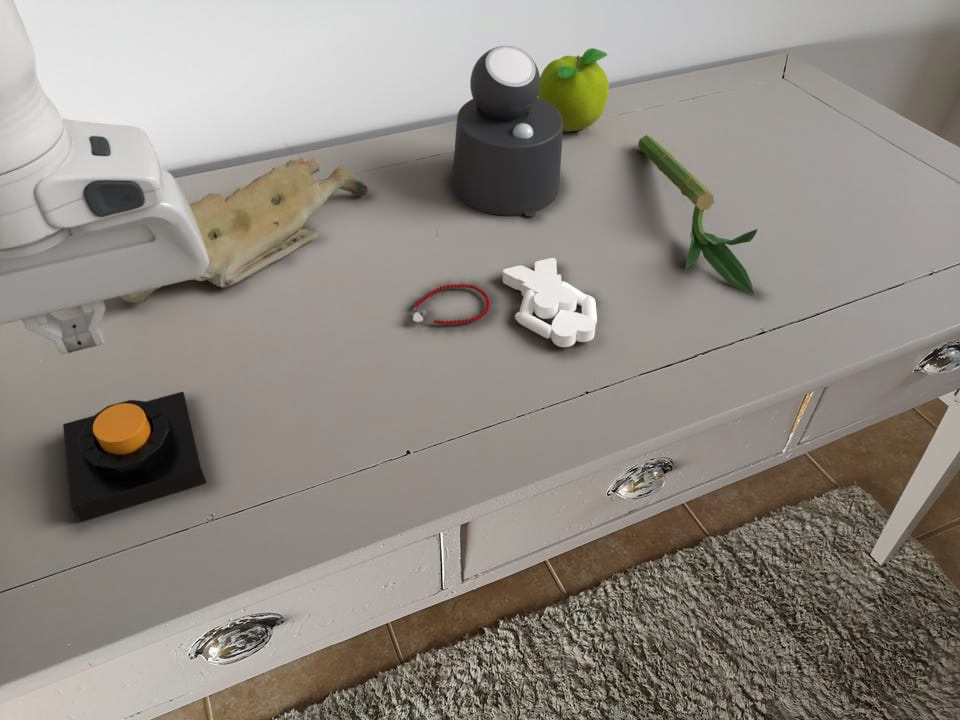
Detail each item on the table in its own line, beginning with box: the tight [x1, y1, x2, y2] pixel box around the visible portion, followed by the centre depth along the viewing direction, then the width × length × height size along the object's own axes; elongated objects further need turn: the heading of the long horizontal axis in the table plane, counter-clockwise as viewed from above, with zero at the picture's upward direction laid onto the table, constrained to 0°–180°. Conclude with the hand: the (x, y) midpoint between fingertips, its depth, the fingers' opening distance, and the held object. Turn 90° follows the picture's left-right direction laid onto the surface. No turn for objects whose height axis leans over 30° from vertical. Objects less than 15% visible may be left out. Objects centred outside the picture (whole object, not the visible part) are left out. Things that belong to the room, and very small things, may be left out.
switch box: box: [62, 391, 207, 523], centre depth 65 cm, size 10×9×4 cm
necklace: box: [412, 283, 491, 325], centre depth 81 cm, size 9×6×1 cm
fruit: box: [538, 47, 610, 133], centre depth 103 cm, size 9×9×10 cm
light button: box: [93, 403, 151, 455], centre depth 63 cm, size 4×4×2 cm
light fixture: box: [451, 45, 564, 218], centre depth 91 cm, size 13×16×14 cm
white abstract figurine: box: [502, 257, 598, 348], centre depth 81 cm, size 9×12×2 cm
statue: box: [119, 157, 369, 305], centre depth 84 cm, size 10×7×30 cm
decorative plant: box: [637, 134, 758, 295], centre depth 92 cm, size 6×8×30 cm
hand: (82, 343), depth 56 cm, fingers closed
